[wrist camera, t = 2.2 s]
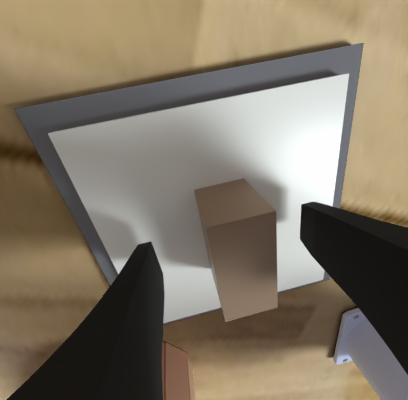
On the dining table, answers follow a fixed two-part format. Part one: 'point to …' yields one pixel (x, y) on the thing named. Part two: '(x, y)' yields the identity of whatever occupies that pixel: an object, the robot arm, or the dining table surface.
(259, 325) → the dining table surface
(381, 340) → the robot arm
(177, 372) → the pink hollow faceted cylinder
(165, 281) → the cover sheet
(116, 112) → the mat
